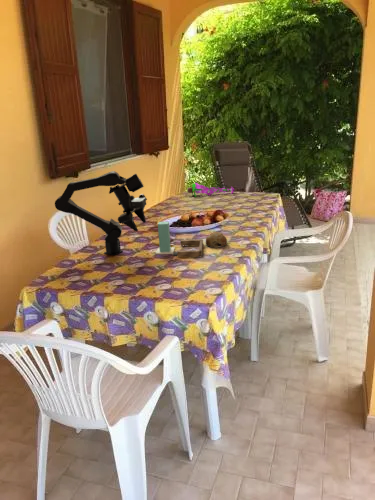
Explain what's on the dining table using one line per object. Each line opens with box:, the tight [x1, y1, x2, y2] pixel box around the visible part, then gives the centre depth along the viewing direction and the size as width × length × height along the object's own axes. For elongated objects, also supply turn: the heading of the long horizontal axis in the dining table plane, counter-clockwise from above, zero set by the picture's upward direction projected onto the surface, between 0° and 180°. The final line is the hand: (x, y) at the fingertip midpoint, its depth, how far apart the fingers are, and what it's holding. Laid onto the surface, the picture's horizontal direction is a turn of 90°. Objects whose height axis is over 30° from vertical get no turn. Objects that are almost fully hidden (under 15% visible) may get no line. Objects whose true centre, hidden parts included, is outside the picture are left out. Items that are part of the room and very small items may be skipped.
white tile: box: [155, 246, 176, 255], centre depth 200 cm, size 8×8×1 cm
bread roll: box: [205, 231, 228, 248], centre depth 205 cm, size 10×10×8 cm
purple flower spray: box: [186, 182, 235, 198], centre depth 320 cm, size 12×16×35 cm
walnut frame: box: [176, 239, 204, 258], centre depth 198 cm, size 11×17×2 cm, turn 176°
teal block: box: [157, 221, 171, 252], centre depth 197 cm, size 4×4×13 cm
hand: (141, 226), depth 199 cm, fingers open, 9 cm apart
